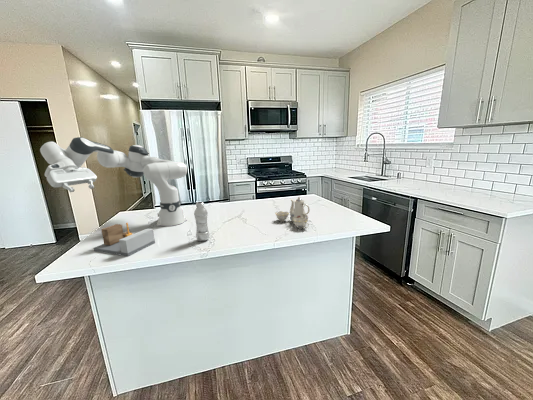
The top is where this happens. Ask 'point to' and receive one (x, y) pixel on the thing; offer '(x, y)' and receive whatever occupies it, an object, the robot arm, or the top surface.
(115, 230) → the brown wooden block
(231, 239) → the top surface
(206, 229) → the plastic bottle
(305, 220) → the chinaware
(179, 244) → the top surface
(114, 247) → the base
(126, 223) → the needle
